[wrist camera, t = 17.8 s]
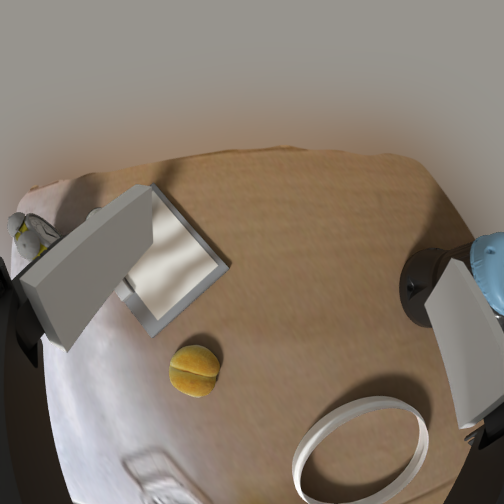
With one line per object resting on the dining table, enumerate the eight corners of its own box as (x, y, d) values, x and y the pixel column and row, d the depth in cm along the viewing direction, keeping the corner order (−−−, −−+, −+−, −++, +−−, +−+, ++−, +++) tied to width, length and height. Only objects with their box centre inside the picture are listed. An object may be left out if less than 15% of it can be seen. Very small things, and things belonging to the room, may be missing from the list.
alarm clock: (82, 257, 48) (33, 239, 33) (64, 282, 47) (14, 272, 32) (57, 224, 50) (13, 201, 35) (41, 247, 49) (-5, 230, 34)
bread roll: (224, 352, 44) (221, 355, 40) (211, 398, 42) (207, 406, 39) (178, 336, 45) (171, 339, 41) (166, 383, 43) (159, 388, 39)
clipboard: (229, 269, 47) (227, 266, 44) (153, 337, 45) (148, 338, 42) (155, 184, 50) (150, 179, 48) (90, 247, 48) (83, 244, 46)
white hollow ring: (346, 373, 43) (356, 380, 38) (439, 417, 40) (453, 424, 34) (264, 482, 39) (264, 497, 33) (366, 510, 35) (373, 523, 30)
